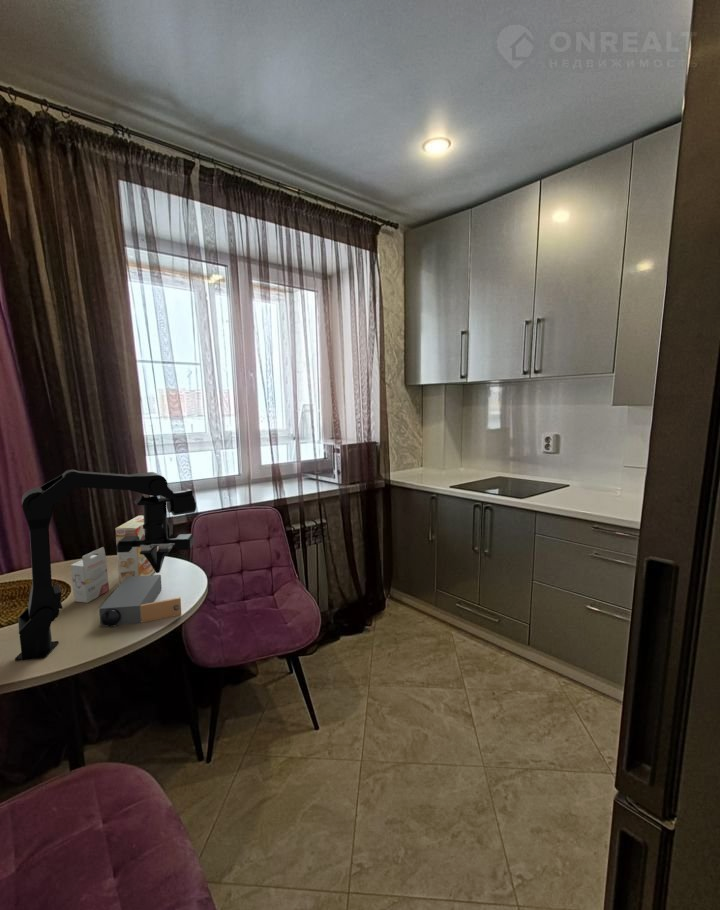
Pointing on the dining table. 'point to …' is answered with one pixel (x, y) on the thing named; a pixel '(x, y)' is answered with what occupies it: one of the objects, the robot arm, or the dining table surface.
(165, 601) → the side door
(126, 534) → the coffeecake box
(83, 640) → the dining table surface
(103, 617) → the box
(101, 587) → the ink cartridge box
